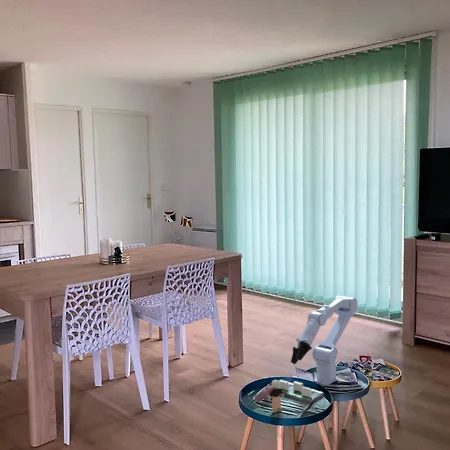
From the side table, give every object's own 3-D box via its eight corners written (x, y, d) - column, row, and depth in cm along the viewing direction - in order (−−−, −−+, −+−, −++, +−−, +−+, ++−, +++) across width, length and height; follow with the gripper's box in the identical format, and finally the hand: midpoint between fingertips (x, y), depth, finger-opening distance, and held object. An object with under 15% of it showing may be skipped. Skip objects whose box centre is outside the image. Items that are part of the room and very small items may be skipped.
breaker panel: (287, 385, 233) (287, 381, 233) (323, 395, 220) (323, 392, 220) (273, 392, 225) (273, 389, 225) (309, 404, 212) (309, 400, 212)
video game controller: (261, 406, 215) (267, 393, 213) (253, 399, 217) (259, 386, 215) (274, 398, 223) (280, 386, 221) (266, 391, 225) (271, 379, 223)
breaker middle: (295, 388, 224) (295, 381, 224) (303, 390, 222) (303, 383, 222) (293, 389, 223) (293, 382, 223) (301, 391, 221) (300, 384, 220)
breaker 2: (303, 393, 219) (303, 386, 218) (311, 396, 216) (311, 388, 216) (301, 394, 217) (301, 387, 217) (309, 397, 215) (309, 389, 214)
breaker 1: (281, 386, 227) (280, 379, 226) (288, 388, 224) (288, 381, 224) (278, 387, 226) (278, 380, 225) (286, 390, 223) (286, 382, 223)
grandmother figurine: (278, 406, 211) (278, 376, 210) (285, 409, 208) (285, 378, 207) (265, 411, 206) (265, 381, 205) (272, 414, 203) (272, 384, 202)
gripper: (295, 334, 233) (282, 359, 226) (306, 325, 220) (292, 352, 213) (309, 343, 232) (296, 368, 225) (320, 334, 219) (307, 361, 213)
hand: (295, 361), depth 219 cm, fingers open, 7 cm apart
